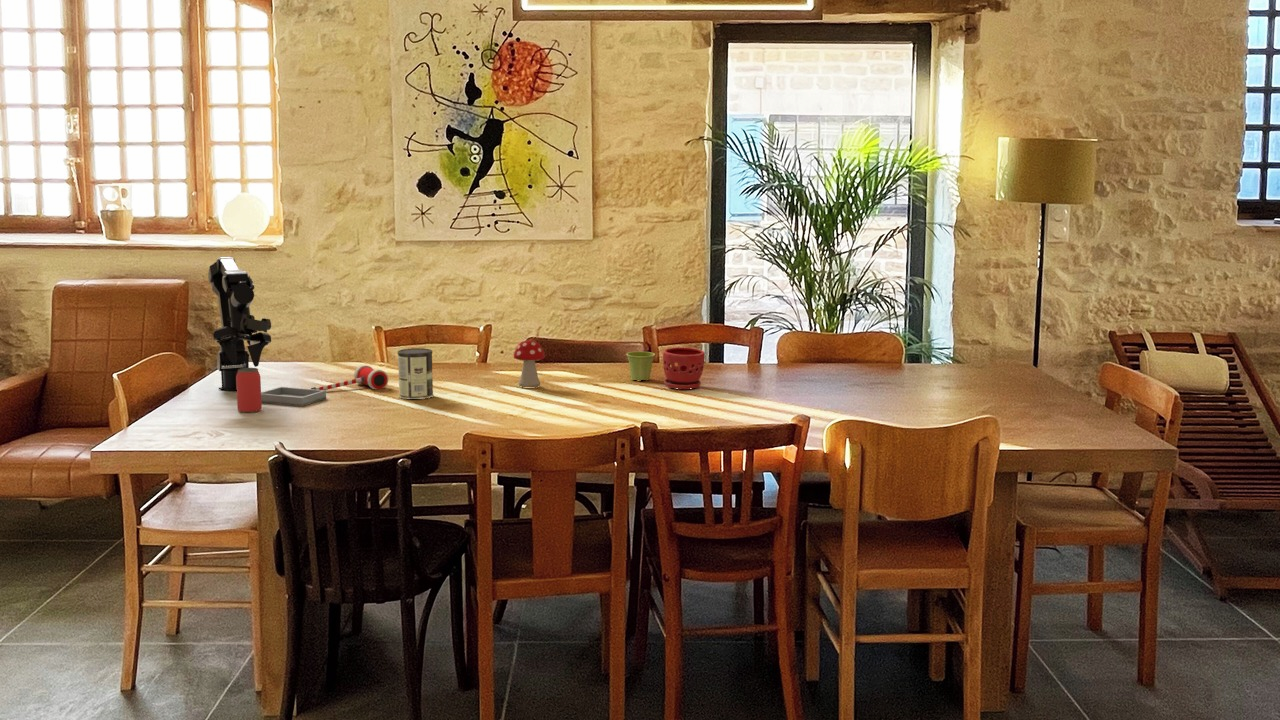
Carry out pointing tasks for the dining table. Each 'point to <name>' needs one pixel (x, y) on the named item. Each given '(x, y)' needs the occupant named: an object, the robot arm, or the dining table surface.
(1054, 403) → the dining table surface
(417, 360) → the coffee can
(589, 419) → the dining table surface
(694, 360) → the plant pot
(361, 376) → the toy hammer
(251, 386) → the beer can
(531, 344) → the decorative mushroom
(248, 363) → the robot arm
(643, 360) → the plant pot
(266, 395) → the tray
